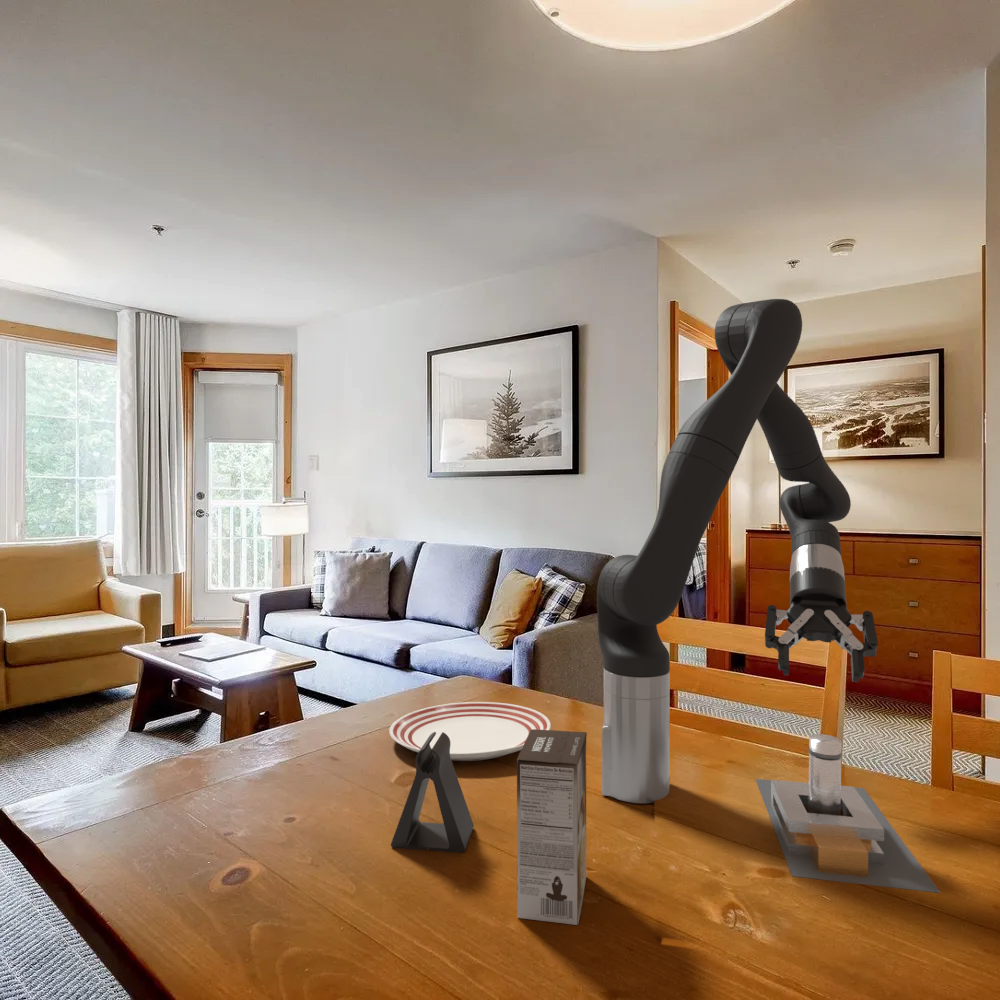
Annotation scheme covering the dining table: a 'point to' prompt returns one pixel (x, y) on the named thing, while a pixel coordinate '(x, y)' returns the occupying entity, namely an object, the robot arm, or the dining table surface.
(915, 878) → the mat
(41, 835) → the dining table surface
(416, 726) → the dinner plate
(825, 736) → the pin
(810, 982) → the dining table surface
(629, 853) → the dining table surface
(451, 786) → the dark triangular stand
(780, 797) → the clevis
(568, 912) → the coffee box
